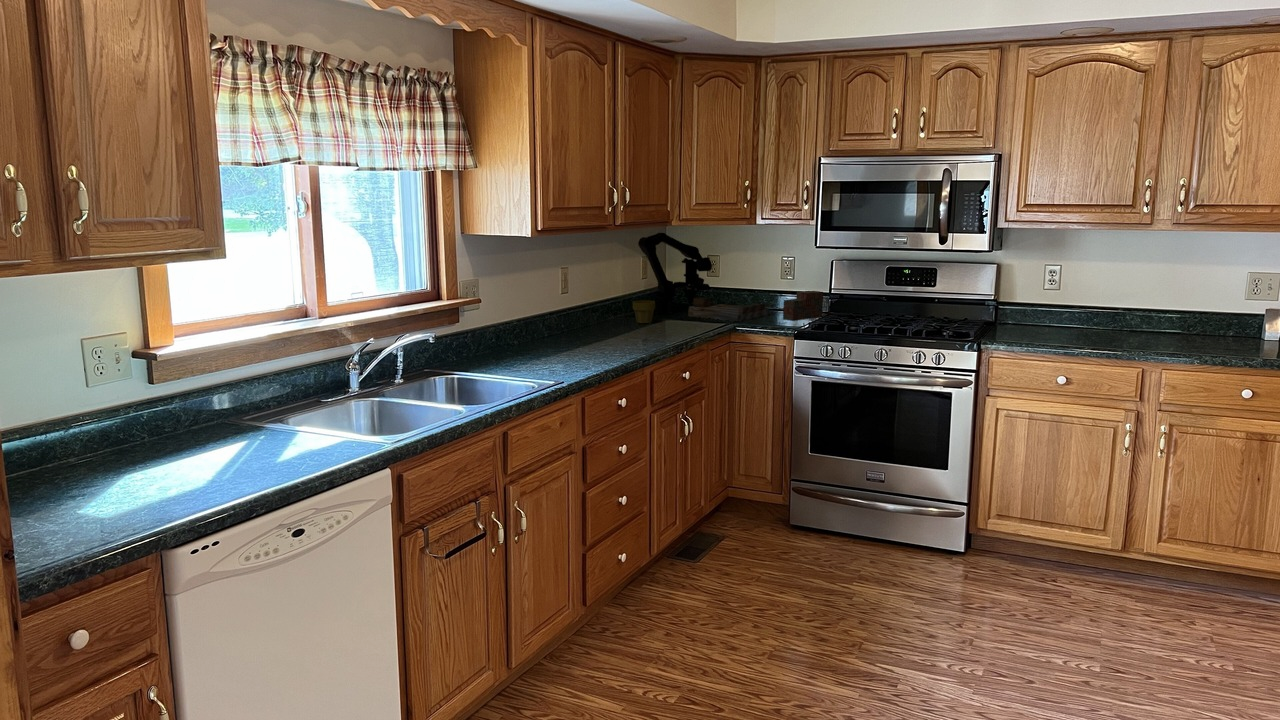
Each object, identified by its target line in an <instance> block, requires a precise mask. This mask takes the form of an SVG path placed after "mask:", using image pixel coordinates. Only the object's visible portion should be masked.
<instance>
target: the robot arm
mask: <svg viewBox="0 0 1280 720" xmlns="http://www.w3.org/2000/svg"><path fill="white" fill-rule="evenodd" d="M661 243H664V244H665V245H667V246H669V247H671V248H673V249H675V250H677V251H678V252H679V253H681V255H682V256H684V257H685V258H684V259H683V260H681V263H682V264H684V265H685V266H684V267H685V273H684V274H683V277H685V281H675V282H673V280H669V279H668V278H667V276H666V274H665V271H664V269H663V267H662V264H661V261H660V260H659V257H658V255H657V246H659V245H660V244H661ZM637 244H638V247H639V248H640V251H641V252H642V253H643V254H644V255H645V256H646V257H647V260H648V262H649V265H650V267H651V269H652V271H653V274H654V276H655V279H656V281H657V291H658V292H657V293H655V295H654V299H655V300H654V301H656V311H654V314H658V315H669V314H673V311H671V302H672V301H673V299H674V297H675V295H676V293H677V292H676V289H679V288H682V289H681V291H682V292H684V294H685V297H686V298H687V301H688V304H692V305H693V303H694V299H695V298H696V297H695V296H696V294H697V293H698V292H700V291H708V290H710V284H709V283H704V282H705V279H704V278H702V277H700V275H699V273H698V272H711V271H712V268H713V264H712V261H711V260H710V257H708V256H707V257H706V256H705V257H702V255H701V253H700V251H699V250H700V249H699V248H698V247H696V246H694V245H690V244H686V243H684V242H682V241H680V240H678V239H676V238H674V237H672V236H669V235H668V234H666V233H665V232H657V233H655V234H652V235H648V236H642V237H641V238H640V239H639V240H638V243H637Z"/></svg>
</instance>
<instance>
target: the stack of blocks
mask: <svg viewBox="0 0 1280 720" xmlns="http://www.w3.org/2000/svg"><path fill="white" fill-rule="evenodd" d="M823 305H824V291H821V290H820V291H819V290H805V291H797V292H796V298H791V299H783V306H782V320H785V321H792V322H793V321H802V320H808V319H809V320H810V319H816V318H823V314H824V313H823V310H824V309H823V308H824V307H823Z"/></svg>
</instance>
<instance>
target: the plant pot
mask: <svg viewBox="0 0 1280 720" xmlns="http://www.w3.org/2000/svg"><path fill="white" fill-rule="evenodd" d="M632 310H633V311H634V315H635V321H636V323H637V322H638V323H650V324H652V323H651V322H653V316H654V313H655V311H654V310H656V300H634V301H632ZM638 323H637V324H638Z"/></svg>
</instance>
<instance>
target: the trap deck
mask: <svg viewBox="0 0 1280 720" xmlns="http://www.w3.org/2000/svg"><path fill="white" fill-rule="evenodd" d="M687 311H688V314H687V315H688V317H689V318H691V317H693V318H699V317H701V319H708V318H711V319H712V320H717V319H719V320H718V321H726V320H729V321H728V322H735V321H739V322H743V321H748V320H752V319H757V318H761V317H762V318H763V317H767V316H770V308H767V307H766V303H764V302H763V303H762V302H761V303H756V304H750V305H744V306H743V305H734V304H725V303H720V304H715V305H714V304H713V305H711V307H705V308H700V307H693V305H692V306H688V310H687ZM711 319H710V320H711ZM742 320H743V321H742Z"/></svg>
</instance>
